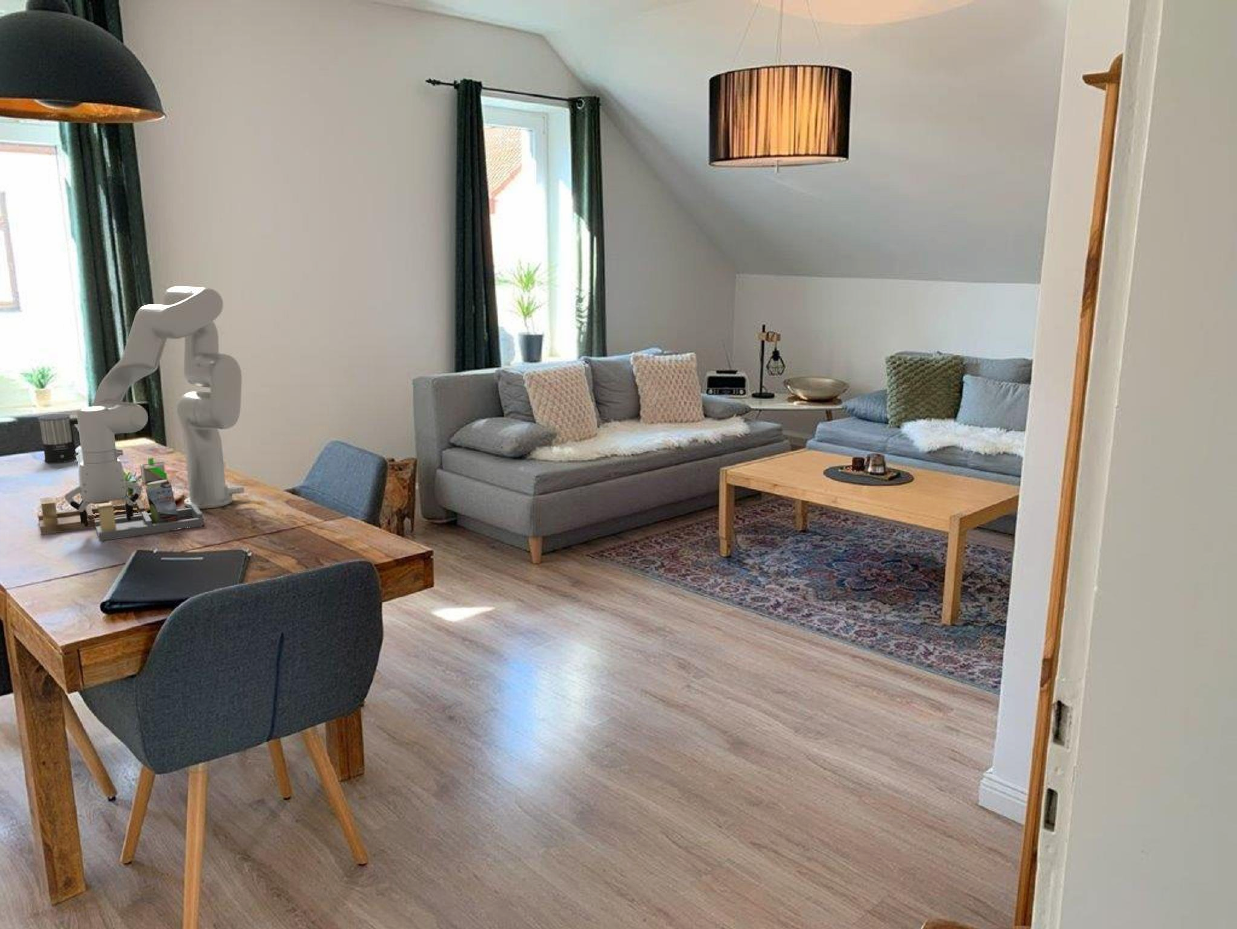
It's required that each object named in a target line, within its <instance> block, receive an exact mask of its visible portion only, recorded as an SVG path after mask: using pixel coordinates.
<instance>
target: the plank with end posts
mask: <svg viewBox="0 0 1237 929" xmlns="http://www.w3.org/2000/svg"><path fill="white" fill-rule="evenodd" d="M125 504H126V503H120V504H114V505H113V504H112V506H113V508H114V511H115V510H126V509H125ZM40 506H41V512H42V513H41V514H37V518H38V523H39V530H40V535H46V534H47V535H48V534H55V533H62V532H71V531H76V530H83V529H90V528H91V529H92V528H95V521H96V520H100V519H99V517H96V518H94V517H95V516H94V515H93V514H95V513H99V511H98V506H95V507H91V505H87V507H86V508H85V509H86V512H87V520H88V526H87V527H85V525H84V523H81V520H80V512H79V511H78V510H77V509H73V510H66V511H59V512H57V506H56V500H55V497H54V496H53V497H43V498H40ZM132 508H137V511H138V513H137V511H136V512H133V515H140V514H142V513H141V512H144V511H146V507H145V505H144V504H143V503H142V500H141V499H140V498H139V499H137V500H136V501H135V502H134V503H133V505H132ZM114 516H115V518H118V517H126V513H125V514H117V515H114Z"/></svg>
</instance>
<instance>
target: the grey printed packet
mask: <svg viewBox="0 0 1237 929" xmlns="http://www.w3.org/2000/svg"><path fill="white" fill-rule="evenodd" d="M172 487H173V486H172V484H171V483H170V482H169V480H168V479H167V480H162V479H159V480H153V481H149V482H146V487H145V493H146V496H147V501H148V507H149V510H150V513H151V515H152V520H153V521H152V524H158V523H165V522H172V521H179V520H180V518H178V513H177V510H178V509H177V505H176V500H175V495H174V491H173V488H172Z"/></svg>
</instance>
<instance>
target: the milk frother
mask: <svg viewBox="0 0 1237 929" xmlns="http://www.w3.org/2000/svg"><path fill="white" fill-rule="evenodd" d="M70 417H71V415H70V414H68V413H54V414H46V415H42V416H39V417H37V420H38V421H39V426H40V431H41V440H42V444H43V445H42V446H43V453H44V460H43V461H44V463H48V464H49V463H50V464H54V463H55V464H57V463H58V464H59V463H67V462H71V461H74V460H76V459H77V456H76V453H77V452H76V451H77V449H78V447H79V442H75V438H74V431H73V425H77V426H78V420H77V417H73V418H72V417H71V418H70Z"/></svg>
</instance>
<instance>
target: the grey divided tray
mask: <svg viewBox="0 0 1237 929" xmlns="http://www.w3.org/2000/svg"><path fill="white" fill-rule="evenodd" d="M112 505H113V504H112V502H102V503H97V507H98V511H99V516H98V518H99V519H100V520H96V521H95V527H94V528H95V530H96V533H97V536H98V540H99V541H102V542H103V541H107V540H108V541H109V540H116V539H123V538H129V537H136V536H142V535H149V534H155V533H156V534H158V533H163V532H162V531H165V532H169V531H168V530H172V531H176V530H175V529H178V528H185V529H190V528H189V527H192V528H199V527H203V526H202V525H204V526H205V521H204V520H205V518H204V516H203V515H204V514H203V512H202V511H201V510H200V509H199V508H198V507H197V506H196V505H191V508H189V507H184V508H179V509H177V513H178V518H179V520H178V521H172V522H165V523H158V524H153V520H152V515H151V512H149V513H148V512H147V511H146V510H145V511H144V512H141V513H142V514H140V515H133V517H131V521H128V520H127V517H118V518H115V516H116V515H115V513H114V508H113V506H112ZM189 517H192V518H189ZM180 518H186V519H182V520H180ZM187 518H189V519H187ZM198 526H199V527H198ZM187 527H188V528H187ZM178 530H179V529H178Z"/></svg>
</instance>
